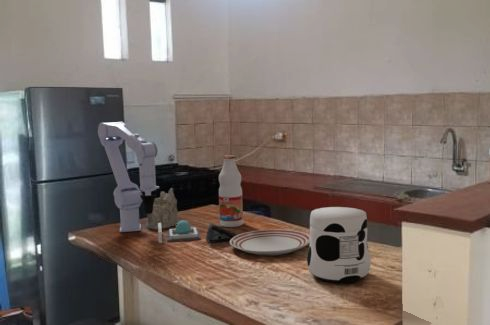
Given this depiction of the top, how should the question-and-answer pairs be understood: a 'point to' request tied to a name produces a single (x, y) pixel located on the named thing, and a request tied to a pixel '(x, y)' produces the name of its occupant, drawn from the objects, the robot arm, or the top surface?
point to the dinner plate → (270, 241)
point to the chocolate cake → (219, 235)
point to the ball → (183, 227)
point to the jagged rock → (163, 211)
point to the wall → (159, 232)
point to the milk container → (338, 244)
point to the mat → (183, 235)
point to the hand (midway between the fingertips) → (149, 211)
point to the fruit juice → (230, 194)
